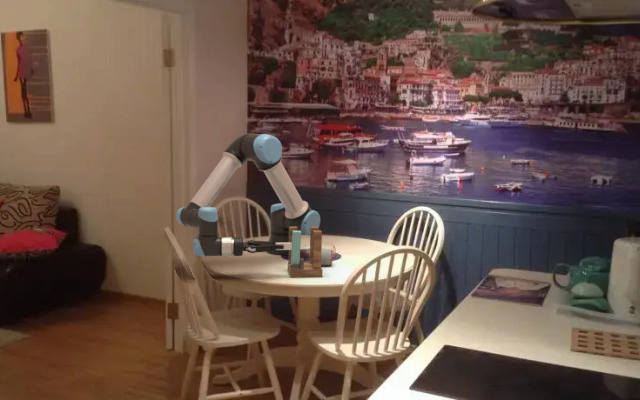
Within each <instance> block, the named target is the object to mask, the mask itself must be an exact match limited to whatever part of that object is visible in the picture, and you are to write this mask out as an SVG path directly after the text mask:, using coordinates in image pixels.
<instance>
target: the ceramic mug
mask: <svg viewBox="0 0 640 400" xmlns="http://www.w3.org/2000/svg"><path fill="white" fill-rule="evenodd" d="M332 264H333V250H332V249H329V248H323V247H322V249H321V267H322V266H325V267H327V266H332Z"/></svg>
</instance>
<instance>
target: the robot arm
mask: <svg viewBox="0 0 640 400" xmlns="http://www.w3.org/2000/svg"><path fill="white" fill-rule="evenodd" d="M282 150H283V146H282V143H281V141H280V140H279V139H278V138H277V137H276V136H274V135H271V134H266V133H264V134H262V133H261V134H259V133H253V132H252V133H251V132H248V133H243V134H241V135H239V136H238V137H236V138H235V139H233V141H232V142H231V143H230V144H229V145H227V147H226V148H225V149H224V151H223V152H222V158H221V159H220V160H219V162H218V164H217V165H216V166H215V167H214V169H213V170H212V171H211V173H210V174H209V176H208V177H207V178H206V180H205V181H204V182H203V184H202V185H201V187H200V188H199V189H198V191H197V192H196V193H195V195H194V196H193V198H191V200H190V202H189V203H188V204H187V206H183V207H181V208H179V209H178V210H177V211H176V214H175V218H176V222H177V223H178V224H180V225H182V226H184V227H189V228H193V229H196V230H198V236H197V237H194V238H193V243H192V246H193V251H192V252H193V255H194V256H197V257H224V258H227V257H232V256H234V257H242V256H244V252H247V253H250V254H255V253H256V254H257V253H269V254H272V255H277V256H278V255H279V256H280V255H281V256H282V255H283V256H285V255H288V256H289V250H292V243H289V227H293V226H297V231H301V236H309V237H310V226H318V227H320V224H321V215H320V214H319V212H318V211H316V210H314V209H312V208H311V207H310V205H309V203H308V201H305V200H303V199H302V197H301V195H300V193H299V192H298V190H297V188H296V186H295V184H294V183H293V181H292V180H291V179H292V178H291V177H290V176H289V174H288V172H287V170H286V169H285V167H284V165H283V163H282V161H283V156H282V155H283V151H282ZM248 161H250V162H253V163H254V165H255V166H256V168H257V170H258V171H259V172H263V173H264V174H265V176H266V179H267V180H268V182H269V183H270V185H271V187H272V189H273V190H274V192H275V194H276V196H277V197H278V199H279V201H280V202H281V203H275V204H271V206H270V212H269V214H270V215H269V216H270V217H269V220H270V221H269V222H270V225H269V229H270V233H269V238H268V240H267V241H266V240H254V239H251V240H247V241H243V240H244V238H243V237H242V236H234V237H232V236H222V237H220V236H218V233H219V230H218V229H219V228H218V227H219V222H218V221H219V215H218V214H219V213H218V209H217V208H216V207H215V206H213V207H211V205H212V204H213V202H214V201H215V200H216V198H217V197H218V195H219V194H220V192H221V191H222V190H223V188H224V187H225V186H226V185H227V183H228V181H229V180H230V179H231V177H232V176H233V174H234V173H235V172H236V171H237V169H238V168H242V166H243V165H244V163H246V162H248Z"/></svg>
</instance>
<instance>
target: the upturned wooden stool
mask: <svg viewBox="0 0 640 400" xmlns="http://www.w3.org/2000/svg"><path fill="white" fill-rule="evenodd" d="M319 227H320V226H319ZM319 227H318V226H310V235H309V241H310V242H309V261H305V259H304V257H300V262H299V264H292V266H291V250H289V254H288V261H287V272H288V275H289V277H290V278H291V279H294V278H295V279H297V278H307V279H308V278H323V268H322V266H321V249H322V248H323V247H322V245H323V243H322V242H323V241H322V240H323V239H322V237H323V231H322V230H320V228H319ZM293 231H297V226H293V227H289V243H292V233H293Z"/></svg>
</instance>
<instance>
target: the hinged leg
mask: <svg viewBox="0 0 640 400" xmlns="http://www.w3.org/2000/svg"><path fill="white" fill-rule="evenodd" d="M301 243H302V235H301V231H293V233H292V250H291V266H292V264H299V262H300V258H301Z"/></svg>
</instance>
